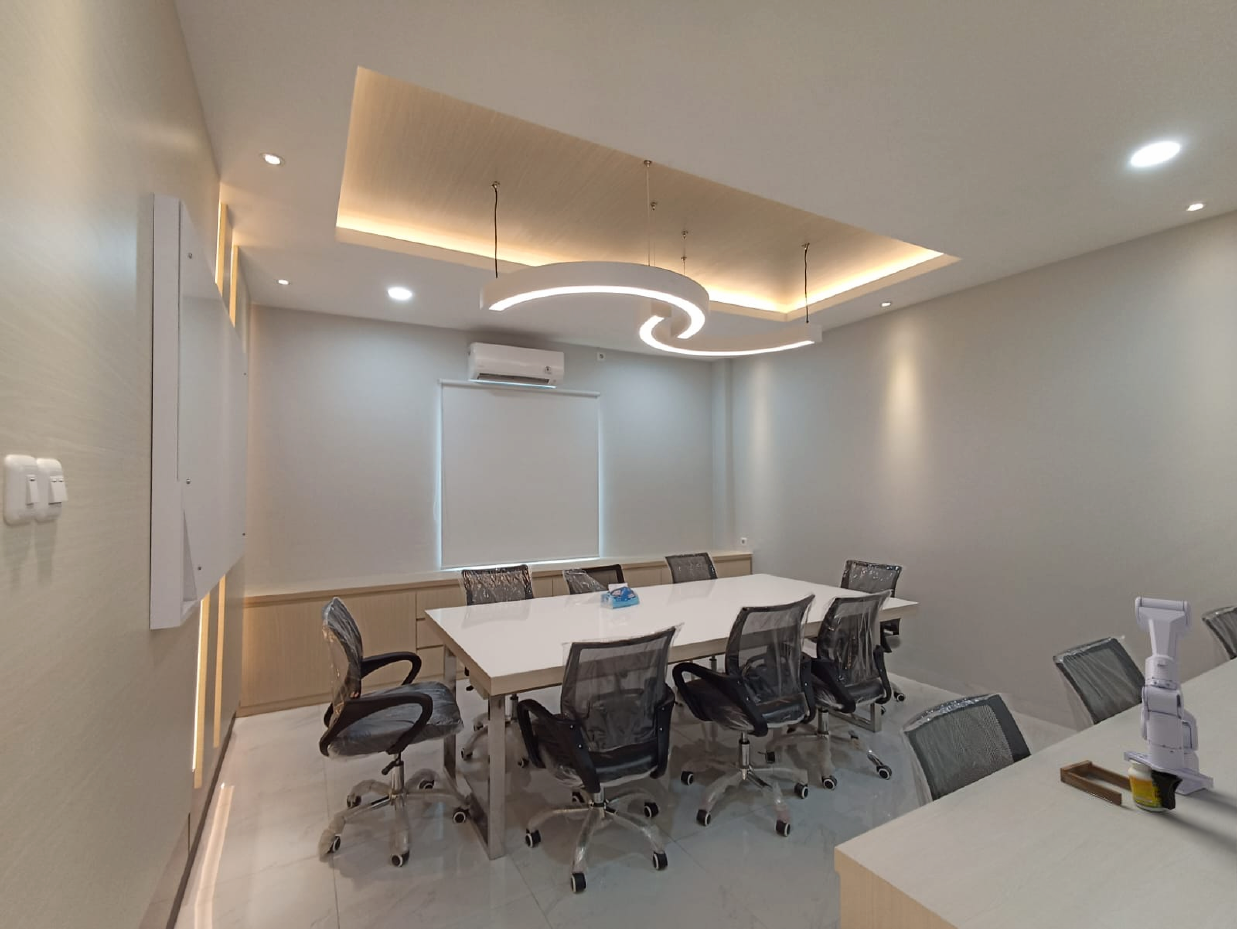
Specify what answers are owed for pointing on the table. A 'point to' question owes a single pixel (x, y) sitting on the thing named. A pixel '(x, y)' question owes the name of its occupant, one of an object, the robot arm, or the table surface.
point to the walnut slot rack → (1085, 768)
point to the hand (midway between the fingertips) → (1168, 807)
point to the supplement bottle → (1144, 787)
